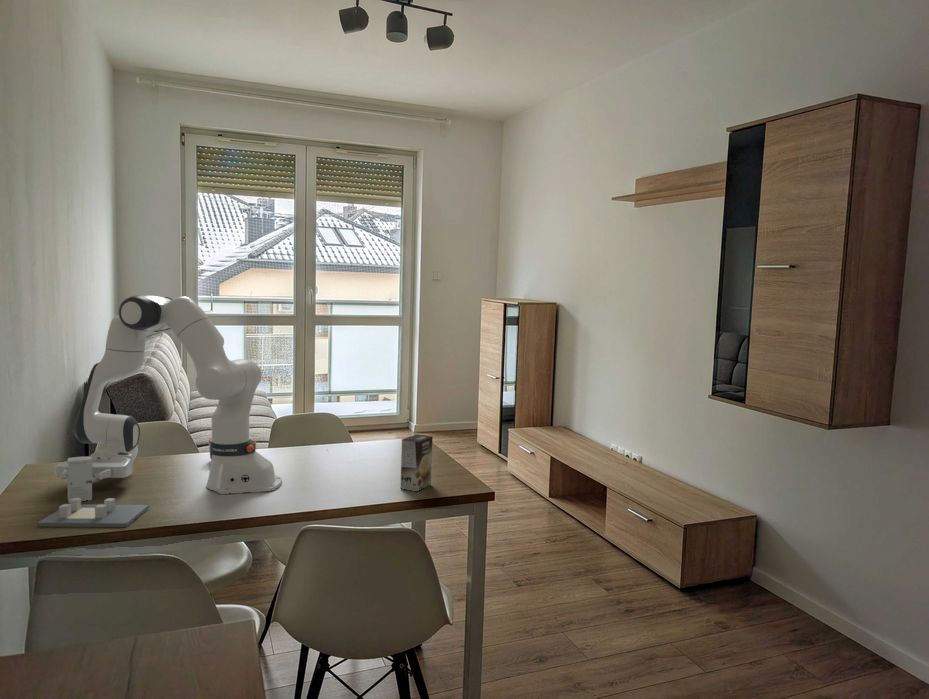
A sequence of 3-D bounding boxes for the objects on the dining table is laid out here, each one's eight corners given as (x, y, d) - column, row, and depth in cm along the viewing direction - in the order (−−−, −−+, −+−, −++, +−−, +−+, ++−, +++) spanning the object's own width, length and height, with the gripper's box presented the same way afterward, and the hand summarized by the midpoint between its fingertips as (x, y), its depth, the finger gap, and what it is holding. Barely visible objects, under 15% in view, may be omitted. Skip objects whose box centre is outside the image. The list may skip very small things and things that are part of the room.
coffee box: (417, 492, 204) (418, 442, 202) (399, 489, 207) (400, 439, 205) (431, 484, 212) (433, 436, 210) (414, 481, 215) (415, 433, 213)
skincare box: (68, 503, 184) (66, 461, 183) (67, 499, 188) (66, 457, 187) (93, 500, 188) (92, 458, 187) (92, 495, 192) (91, 455, 190)
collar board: (149, 508, 183) (148, 494, 182) (126, 527, 169) (126, 512, 168) (67, 507, 181) (66, 493, 181) (37, 526, 167) (37, 511, 167)
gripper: (68, 453, 201) (42, 465, 187) (137, 454, 202) (116, 466, 188) (69, 473, 201) (43, 487, 188) (138, 473, 203) (117, 487, 189)
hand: (80, 476), depth 188 cm, fingers open, 8 cm apart
